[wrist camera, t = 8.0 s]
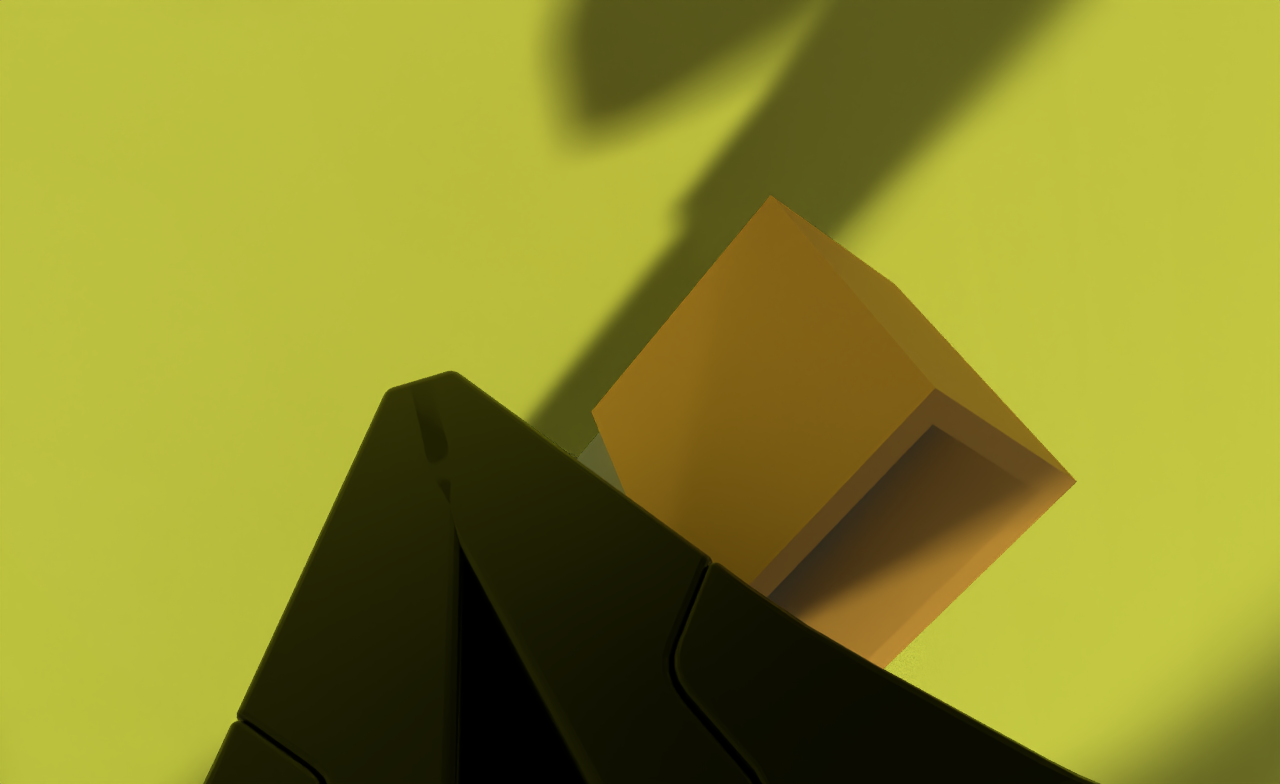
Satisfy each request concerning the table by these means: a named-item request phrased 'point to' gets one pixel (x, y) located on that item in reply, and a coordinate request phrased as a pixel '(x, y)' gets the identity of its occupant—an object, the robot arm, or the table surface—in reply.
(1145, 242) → the table surface
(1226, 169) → the table surface
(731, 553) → the bar
